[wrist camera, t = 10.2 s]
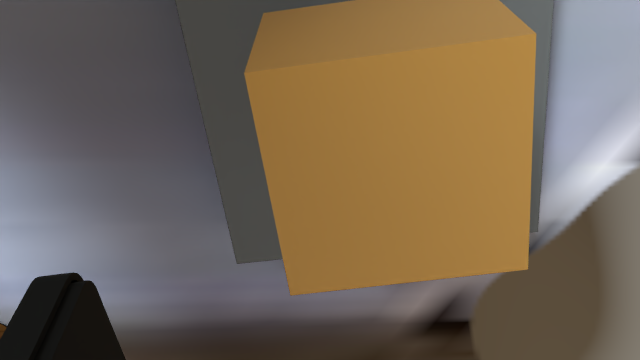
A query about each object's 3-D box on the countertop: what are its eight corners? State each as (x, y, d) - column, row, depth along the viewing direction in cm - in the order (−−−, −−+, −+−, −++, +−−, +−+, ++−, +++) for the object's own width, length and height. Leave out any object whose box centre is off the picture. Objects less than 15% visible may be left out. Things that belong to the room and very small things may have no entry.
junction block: (159, -161, 20) (43, -157, 11) (533, -213, 19) (718, -253, 10) (243, 222, 27) (213, 405, 18) (515, 192, 27) (615, 367, 18)
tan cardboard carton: (263, 13, 17) (244, 72, 13) (479, -18, 17) (536, 33, 12) (296, 195, 20) (290, 295, 16) (481, 173, 20) (528, 269, 15)
